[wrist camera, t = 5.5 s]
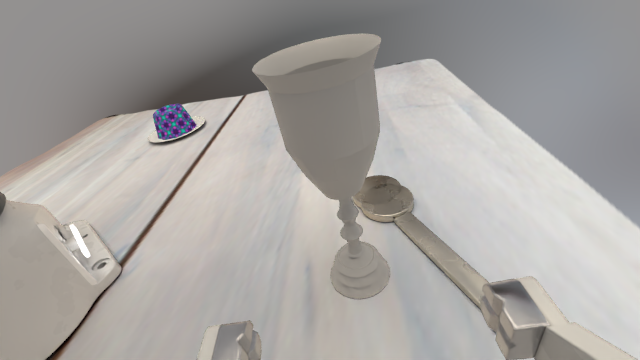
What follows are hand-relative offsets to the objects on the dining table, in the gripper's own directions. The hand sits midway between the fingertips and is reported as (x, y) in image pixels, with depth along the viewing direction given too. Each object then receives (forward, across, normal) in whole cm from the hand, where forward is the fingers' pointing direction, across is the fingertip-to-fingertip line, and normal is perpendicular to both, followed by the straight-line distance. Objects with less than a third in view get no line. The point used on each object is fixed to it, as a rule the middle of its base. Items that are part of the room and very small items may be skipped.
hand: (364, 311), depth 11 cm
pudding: (+55, +33, +11) cm, 65 cm away
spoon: (+14, -6, +11) cm, 19 cm away
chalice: (+11, 0, +12) cm, 16 cm away
